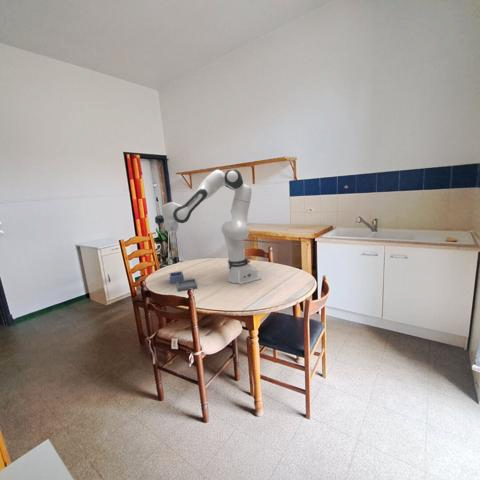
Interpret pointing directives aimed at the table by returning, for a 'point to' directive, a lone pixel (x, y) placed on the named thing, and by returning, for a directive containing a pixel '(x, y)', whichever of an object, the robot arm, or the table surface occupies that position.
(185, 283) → the tray
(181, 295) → the table surface
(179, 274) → the blue socket block
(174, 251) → the peg
